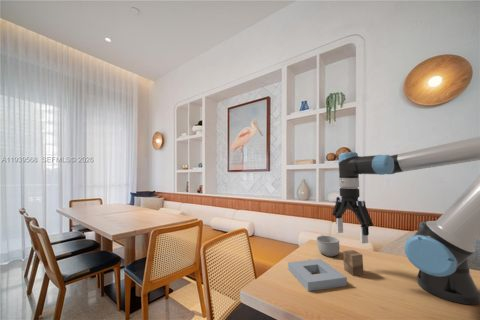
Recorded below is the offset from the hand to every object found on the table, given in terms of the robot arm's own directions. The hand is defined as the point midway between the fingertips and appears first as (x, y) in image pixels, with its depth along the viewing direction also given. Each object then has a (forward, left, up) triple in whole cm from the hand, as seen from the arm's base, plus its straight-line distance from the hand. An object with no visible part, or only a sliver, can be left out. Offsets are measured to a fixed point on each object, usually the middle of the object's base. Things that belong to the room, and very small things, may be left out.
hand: (351, 237), depth 82 cm
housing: (0, +18, -14) cm, 23 cm away
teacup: (+20, -2, -15) cm, 25 cm away
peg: (0, 0, -14) cm, 14 cm away
